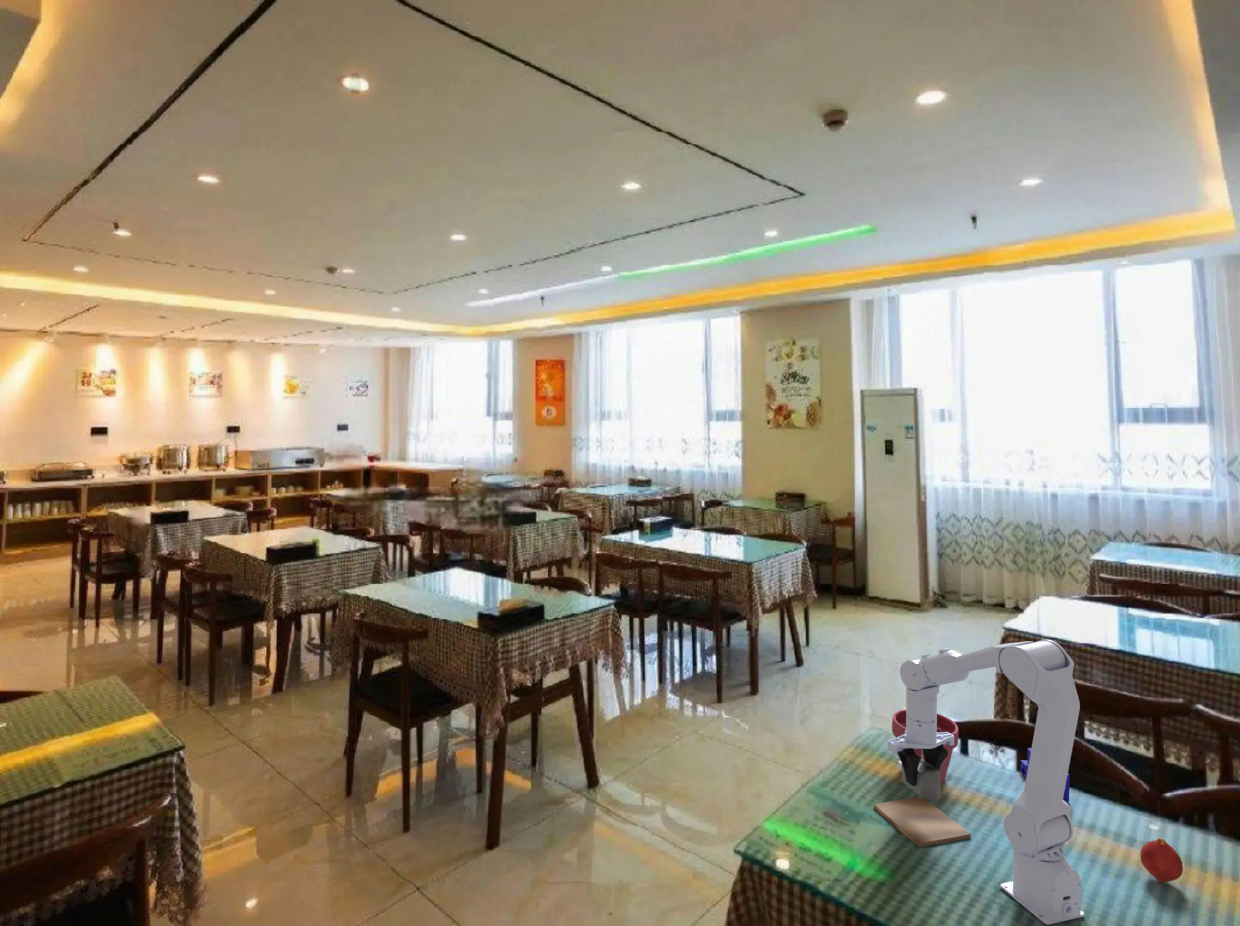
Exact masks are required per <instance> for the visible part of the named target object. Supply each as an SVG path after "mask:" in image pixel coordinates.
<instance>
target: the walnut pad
mask: <svg viewBox="0 0 1240 926" xmlns="http://www.w3.org/2000/svg"><path fill="white" fill-rule="evenodd" d="M873 809H875V810H876V811H877V812H878V813H879V814H880V815H882V816H883V818H885V819H886V820H887V821H888V822H890V823H891V825H893V827H895V828H896V829H898V830H899V831H900V832H901V833H902V834H903V835H904V836H906V837H907V839H909V841H911V842H912V843H913V844H915V845H916V846H917V847H918V848H925V847H928V846H927V845H930V846H934V845H933V844H936V843H941V844H946V843H950V842H957V841H961V840H967V839H971V837H972V834H971V833H970V832H969V831H968V830H967V829H965V828H964V827H963V826H961V825H960V824H958V822H956V821H955V820H953V818H951V817H950V816H948V815H947V814H946V813H944V812H943V811H942V810H940V809H939V808H938V807H937V806H935V805H934V804H933V803H931V802H930V800H927V799H924V798H922V797H921V796H915V797H908V798H903V799H897V800H890V801H885V802H878V803H874V804H873ZM936 845H937V844H936ZM924 846H925V847H924Z"/></svg>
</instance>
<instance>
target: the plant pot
mask: <svg viewBox="0 0 1240 926" xmlns="http://www.w3.org/2000/svg"><path fill="white" fill-rule="evenodd" d="M891 720H892V722H891V732H892V734H893V736H894V737H895V738H897V737H899V736H902V735H904V734H905V730H906V709H901V710H897V711H895V712H894V714H892V719H891ZM937 732H948V733H950V734H952V735H953V736H954V745H951V746H950V745H948V744H946V745H943V748H945V749H946V750H947V751H948V756H947V757H946V758H945V759H944V761H943V763H942V764H941V766H940V769H939V771H940V784H941V782H942V783H943V782H945V780H946V777H947V773H948V770H949V766H950V763H951V758H952V755H953V750H954V749H955V748H957V746H958V745H959V727H958V725H957V724H956V722H954V721H953V720H952V719H950V718H948V717H947V716H945V715H942V714H940V713H937ZM914 752H916V755H918V756H919V757H921V758H922V759H923V760H924V754H923V749H919V748H918V749H914Z"/></svg>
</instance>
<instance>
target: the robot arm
mask: <svg viewBox="0 0 1240 926" xmlns="http://www.w3.org/2000/svg"><path fill="white" fill-rule="evenodd" d="M938 652H939V653H935V654H931V655H930V654H929V653H927V654H923V655H921V658H916V659H906V661H904V662H903V663H902V664H901V665H900V668H899V669H900V670H899V675H900V678H901V682H902V683H903V684H904V686H905V688H906V689H905V690H906V692H905V695H906V699H905V700H906V703H905V705H906V707H905V708H906V709H905V710H906V730H905V734H904V735H902V736H899V737H897V738H896V737H895V738H893V739H888V740H887V750H888V751H889V752H890V753H892V754H897V756H898V758H899V761H901V763H902V765H903V768H904V772H905V776H906V780H907V782H908V783H909V784H911V785H912V786H916V783H917V771H918V766H919V762H920V760H921V757H919V756H918V755H916V752H914V749H918V748H919V749H923V754H924V760H925V761H926V762H927V763H929V764H930V765H932V766H933V767H935V768H936V769H938V770H939V769H940V766H941V764H942V763H943V761H944V759H945V758H946V757H947V756H948V751H947V750H946V749H945V748H943V745H946V744H948V745H950V746H951V745H954V736H953V735H952V734H950V733H948V732H937V714H938V712H937V711H938V694H939V693H940V687H941V686H943V685H946V684H952V683H958V682H962V681H965V680H966V679H967V678H968V677H969V674H970V672H973V671H978V670H985V669H989V668H995V669H996V671H997V673H998V674H1004V675H1005V676H1006V678H1007V679H1008V680H1009V681H1010V682H1011V683H1012V684H1013V685H1014V686H1015V687H1017V688H1018V690H1020V691H1021V692H1022V693H1023V694H1024V695H1025V696H1026V697H1027V698H1028V699H1029V700H1031V702H1033V703H1035V704H1036V705H1037V707H1038V709H1037V715H1036V721H1035V727H1034V733H1033V739H1032V743H1031V748H1032V749H1031V754H1030V760H1029V766H1028V771H1027V777H1025V778H1026V779H1025V784H1024V789H1023V791H1022V792H1021V794H1019V796H1018V797H1017V799H1016V800H1015V801H1014V802H1013V803H1012V808H1011V811H1010V813H1009V814H1007V815H1006V816H1005V817H1004V820H1003V829H1004V833H1005V835H1006V837H1007V839H1008V841H1009V843H1010V844H1011V847H1013V848H1012V850H1013V851H1012V852H1013V853H1012V881H1008V882H1003V883H1000V888H1001V889H1002V890H1003V891H1004V892H1006V893H1007V894H1008V895H1009V896H1010V897H1012V898H1013V899H1014V900H1016V901H1017V902H1018V903H1019V904H1020V905H1022V906H1023V907H1024V908H1025V909H1026V910H1027V911H1029V912H1030V913H1031V914H1033V916H1035V917H1036V918H1037V919H1039V921H1041V922H1042V923H1044V924H1045V925H1047V926H1048V925H1052V924H1058V923H1061V922H1066V921H1071V920H1075V919H1078V918H1079V919H1080V918H1082V917H1085V913H1084V911H1083V910H1081V906H1082V904H1081V903H1082V902H1081V900H1082V880H1081V877H1080V875H1079V873H1078V872H1077V871H1076V870H1075V869H1074V868H1073V867H1072V866H1071V865H1070V863H1069V862H1068V861H1067V860H1066V857H1065V856H1064V851H1065V848H1066V845H1065V844H1066V843H1067V842H1069V841H1070V840H1071V839H1072V838H1073V836H1074V826H1073V823H1072V819H1071V812H1072V807H1071V806H1070V805H1069V804H1068V803H1067V801H1064V800H1063V796H1064V790H1065V785H1066V780H1067V774H1069V769H1070V768H1069V767H1070V764H1071V757H1072V753H1073V747H1074V742H1075V736H1076V731H1077V727H1078V720H1079V716H1080V715H1079V714H1080V710H1081V709H1080V707H1081V704H1080V698H1079V695H1078V692H1077V688H1076V684H1075V680H1074V676H1073V673H1074V671H1073V670H1074V666H1075V662H1074V661H1073V659H1072V657H1070V655H1069V654H1068V653H1067V652H1066V650H1065V649H1064V648H1063V647H1062V646H1061V645H1060V644H1059V643H1058V642H1056V641H1054V640H1051V639H1045V638H1044V639H1039V640H1037V641H1036V642H1035V641H1033V640H1031V641H1030V640H1028V641H1027V640H1025V641H1019V642H1008V643H1002V644H997V645H992V646H988V647H985V648H982V649H979V650H974V651H972V652H968V653H965V654H962V653H961V652H959V651H957V650H954V649H953V650H952V649H951V650H950V649H949V648H948V647H947V648H942V649H939V650H938Z"/></svg>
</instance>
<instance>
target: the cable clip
mask: <svg viewBox="0 0 1240 926" xmlns="http://www.w3.org/2000/svg"><path fill="white" fill-rule="evenodd" d="M1031 749H1032V747H1028V748H1027V759H1026V760H1023V759H1021V760H1020V773H1021V774H1022V775H1023V776H1024V777H1025V778H1026V777H1027V771H1028V766H1029V760H1030V754H1031ZM1063 800H1064V801H1065V802H1070V774H1069V773H1068V774H1067V780H1066V785H1065V790H1064V796H1063Z"/></svg>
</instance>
